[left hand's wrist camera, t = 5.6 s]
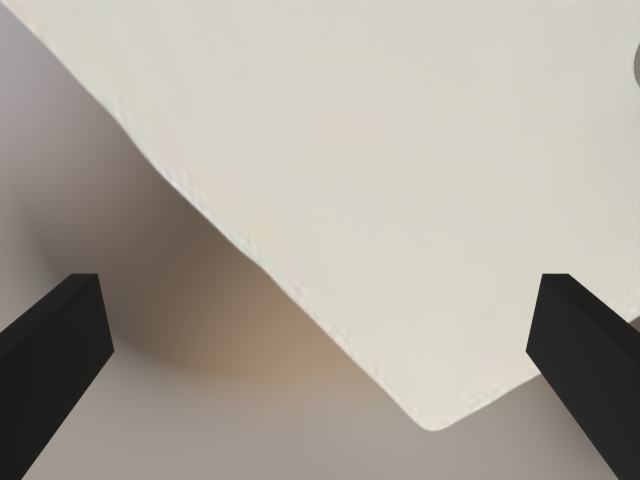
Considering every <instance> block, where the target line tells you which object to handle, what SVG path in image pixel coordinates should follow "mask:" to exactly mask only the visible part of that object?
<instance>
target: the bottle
mask: <svg viewBox="0 0 640 480" xmlns="http://www.w3.org/2000/svg"><path fill="white" fill-rule="evenodd" d="M634 73H635V77H636V80H637V83H638V84H639V86H640V44H639V47H638V49H637V52H636V56H635V61H634Z"/></svg>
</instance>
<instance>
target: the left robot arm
mask: <svg viewBox="0 0 640 480" xmlns="http://www.w3.org/2000/svg"><path fill="white" fill-rule="evenodd" d="M113 353H114V347H113V343H112V338H111V334H110V329H109V324H108V320H107V315H106V311H105V306H104V301H103V297H102V292H101V288H100V283H99V278H98V274H71V275H69V276H68V277H67V278H66V279H65V280H63V281H62V282H61V283H60V284H59V285H57V286H56V287H55V288H54V289H53V290H51V291H50V292H49V293H48V294H47V295H45V296H44V297H43V298H42V299H40V300H39V301H38V302H37V303H36V304H34V305H33V306H32V307H31V308H30V309H28V310H27V311H26V312H25V313H24V314H22V315H21V316H20V317H19V318H17V319H16V320H15V321H14V322H13V323H11V324H10V325H9V326H8V327H7V328H5V329H4V330H3V331H2V332H1V333H0V480H21V479H22V478H23V476H24V475H25V474H26V472H27V471H28V470H29V468H30V467H31V465H32V464H33V463H34V461H35V460H36V459H37V457H38V456H39V454H40V453H41V452H42V450H43V449H44V448H45V446H46V445H47V443H48V442H49V441H50V439H51V438H52V437H53V435H54V434H55V432H56V431H57V430H58V428H59V427H60V425H61V424H62V423H63V421H64V420H65V419H66V417H67V416H68V414H69V413H70V412H71V410H72V409H73V408H74V406H75V405H76V403H77V402H78V401H79V399H80V398H81V397H82V395H83V394H84V392H85V391H86V390H87V388H88V387H89V385H90V384H91V383H92V381H93V380H94V379H95V377H96V376H97V374H98V373H99V372H100V370H101V369H102V368H103V366H104V365H105V363H106V362H107V361H108V359H109V358H110V357H111V355H112V354H113ZM526 353H527V354H528V355H529V357H530V358H531V359H532V361H533V362H534V364H535V365H536V366H537V368H538V369H539V370H540V372H541V373H542V375H543V376H544V377H545V379H546V380H547V381H548V383H549V384H550V386H551V387H552V388H553V390H554V391H555V392H556V394H557V395H558V397H559V398H560V399H561V401H562V402H563V403H564V405H565V406H566V408H567V409H568V410H569V412H570V413H571V414H572V416H573V417H574V419H575V420H576V421H577V423H578V424H579V425H580V427H581V428H582V430H583V431H584V432H585V434H586V435H587V436H588V438H589V439H590V441H591V442H592V443H593V445H594V446H595V448H596V449H597V450H598V452H599V453H600V454H601V456H602V457H603V459H604V460H605V461H606V463H607V464H608V465H609V467H610V468H611V469H612V471H613V472H614V474H615V475H616V476H617V478H618V479H619V480H640V333H639V332H638V331H637V330H636V329H634V328H633V327H632V326H631V325H630V324H629V323H627V322H626V321H625V320H624V319H622V318H621V317H620V316H619V315H618V314H616V313H615V312H614V311H613V310H612V309H610V308H609V307H608V306H607V305H606V304H604V303H603V302H602V301H601V300H600V299H598V298H597V297H596V296H595V295H594V294H592V293H591V292H590V291H589V290H587V289H586V288H585V287H584V286H583V285H581V284H580V283H579V282H578V281H577V280H575V279H574V278H573V277H572V276H571V275H569V274H542V278H541V283H540V287H539V292H538V297H537V301H536V306H535V310H534V315H533V320H532V324H531V329H530V334H529V338H528V343H527V347H526Z"/></svg>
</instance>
